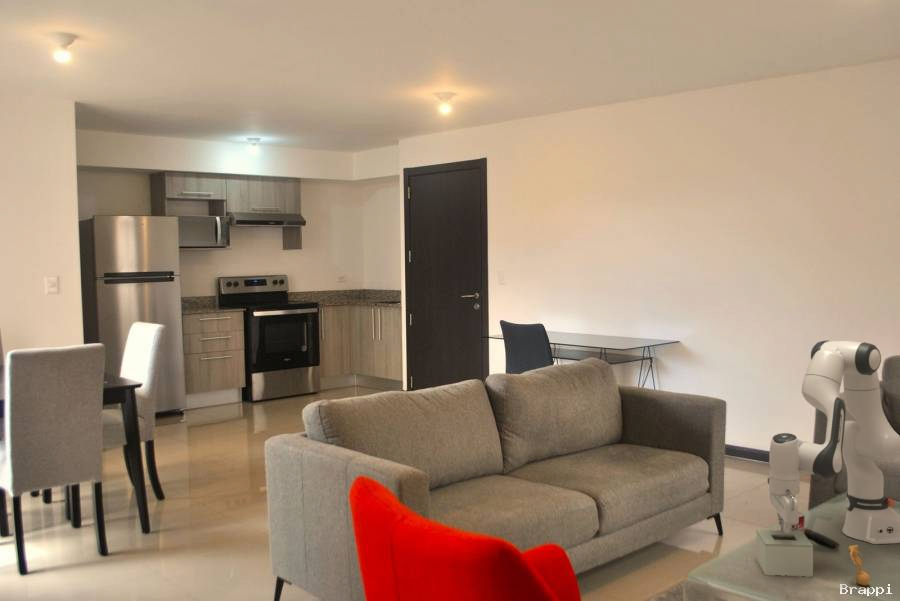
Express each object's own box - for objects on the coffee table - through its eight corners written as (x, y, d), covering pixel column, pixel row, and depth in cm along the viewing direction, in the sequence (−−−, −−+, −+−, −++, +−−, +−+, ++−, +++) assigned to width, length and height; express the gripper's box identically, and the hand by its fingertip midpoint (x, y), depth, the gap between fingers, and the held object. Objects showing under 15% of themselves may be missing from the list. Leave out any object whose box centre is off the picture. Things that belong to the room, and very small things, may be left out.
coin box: (801, 561, 256) (801, 531, 255) (812, 576, 244) (813, 545, 243) (756, 559, 258) (756, 529, 257) (765, 575, 246) (765, 543, 245)
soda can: (806, 552, 262) (806, 517, 261) (783, 551, 264) (783, 516, 263) (801, 544, 269) (801, 510, 269) (778, 543, 271) (778, 509, 270)
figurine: (867, 591, 233) (867, 552, 232) (844, 586, 237) (845, 547, 236) (872, 581, 240) (873, 543, 239) (851, 576, 243) (851, 538, 242)
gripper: (804, 496, 238) (804, 541, 239) (786, 476, 258) (786, 517, 259) (782, 496, 239) (782, 540, 240) (766, 476, 259) (766, 517, 260)
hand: (784, 528), depth 250 cm, fingers open, 5 cm apart
